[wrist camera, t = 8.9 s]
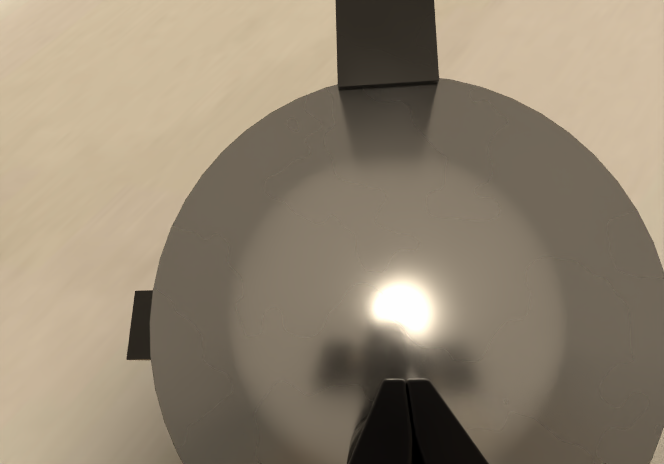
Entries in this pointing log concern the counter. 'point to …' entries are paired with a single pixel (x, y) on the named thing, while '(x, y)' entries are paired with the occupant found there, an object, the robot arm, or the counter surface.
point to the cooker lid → (407, 272)
